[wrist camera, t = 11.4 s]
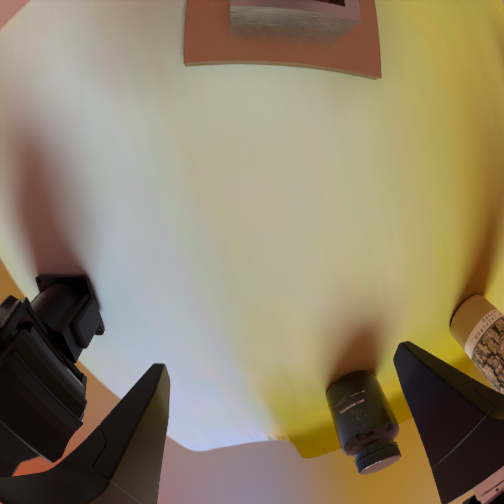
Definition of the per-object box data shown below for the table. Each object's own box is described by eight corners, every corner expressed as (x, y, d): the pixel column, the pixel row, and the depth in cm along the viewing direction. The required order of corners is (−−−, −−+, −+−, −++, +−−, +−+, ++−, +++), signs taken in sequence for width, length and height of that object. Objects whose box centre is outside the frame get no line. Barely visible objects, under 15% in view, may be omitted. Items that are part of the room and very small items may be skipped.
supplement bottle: (340, 368, 28) (375, 456, 17) (384, 369, 29) (423, 443, 19) (315, 403, 31) (338, 483, 20) (358, 402, 32) (386, 472, 21)
